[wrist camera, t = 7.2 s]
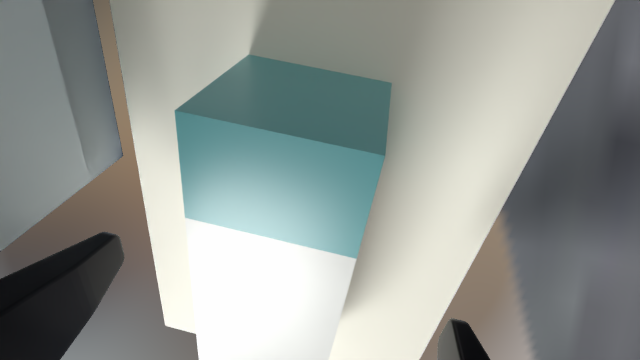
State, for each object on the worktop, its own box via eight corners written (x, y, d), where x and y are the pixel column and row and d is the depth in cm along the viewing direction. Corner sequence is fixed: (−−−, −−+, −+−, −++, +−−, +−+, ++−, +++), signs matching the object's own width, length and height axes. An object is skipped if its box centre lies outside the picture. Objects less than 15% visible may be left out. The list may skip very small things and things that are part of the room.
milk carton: (329, 326, 15) (310, 425, 12) (242, 304, 15) (202, 395, 12) (391, 83, 9) (385, 155, 6) (248, 54, 9) (174, 110, 6)
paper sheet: (403, 384, 16) (403, 388, 16) (167, 321, 17) (165, 325, 17) (625, -30, 7) (630, -29, 7) (94, -119, 8) (88, -120, 8)
